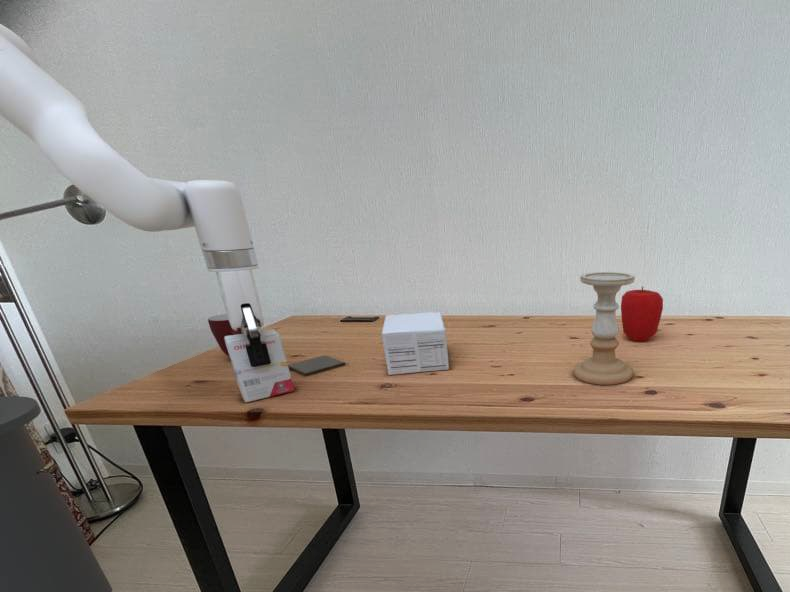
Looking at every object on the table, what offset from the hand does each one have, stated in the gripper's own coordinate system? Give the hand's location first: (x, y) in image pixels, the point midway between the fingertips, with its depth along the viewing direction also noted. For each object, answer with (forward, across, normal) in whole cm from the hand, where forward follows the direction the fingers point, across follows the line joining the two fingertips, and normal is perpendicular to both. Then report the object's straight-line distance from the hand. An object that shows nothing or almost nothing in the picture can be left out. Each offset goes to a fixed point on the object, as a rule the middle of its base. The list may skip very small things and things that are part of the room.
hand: (259, 360), depth 85 cm
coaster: (+7, -12, +11) cm, 18 cm away
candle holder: (+7, +32, +58) cm, 67 cm away
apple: (+7, +18, +84) cm, 86 cm away
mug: (+7, -29, -2) cm, 30 cm away
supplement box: (+7, -1, +31) cm, 32 cm away
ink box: (+7, 0, 0) cm, 7 cm away
